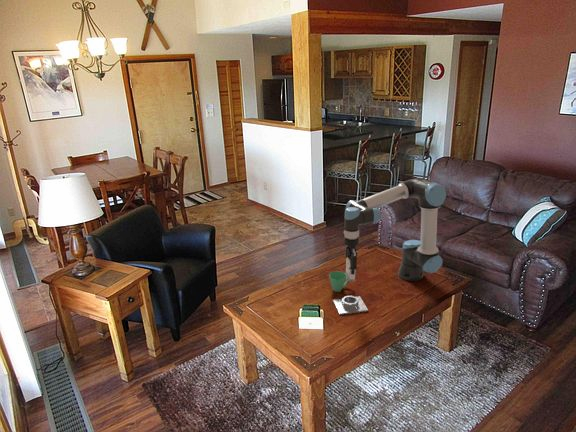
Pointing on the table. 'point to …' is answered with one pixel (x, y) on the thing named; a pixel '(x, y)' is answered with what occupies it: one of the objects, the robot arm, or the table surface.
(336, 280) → the mug
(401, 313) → the table surface
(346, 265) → the pale grey cylinder
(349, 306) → the duct flange
